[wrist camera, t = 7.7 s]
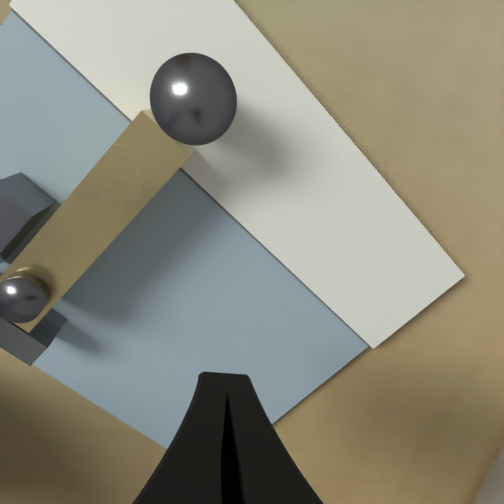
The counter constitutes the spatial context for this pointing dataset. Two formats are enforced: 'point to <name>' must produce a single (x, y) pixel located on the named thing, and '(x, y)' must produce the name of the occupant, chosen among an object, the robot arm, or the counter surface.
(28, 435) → the counter surface
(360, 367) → the counter surface
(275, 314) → the door panel
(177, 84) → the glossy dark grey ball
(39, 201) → the keeper
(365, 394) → the counter surface
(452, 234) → the counter surface
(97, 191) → the swing bar
